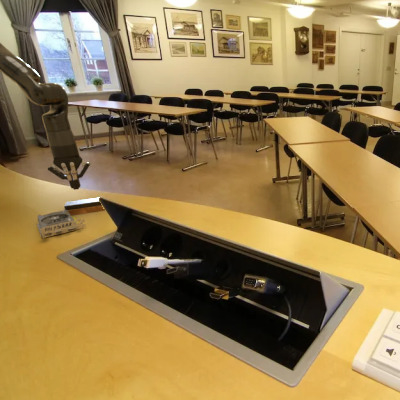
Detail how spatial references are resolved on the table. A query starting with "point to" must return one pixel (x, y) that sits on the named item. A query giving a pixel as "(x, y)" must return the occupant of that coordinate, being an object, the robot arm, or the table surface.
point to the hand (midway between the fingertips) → (76, 188)
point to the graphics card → (58, 223)
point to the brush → (83, 206)
